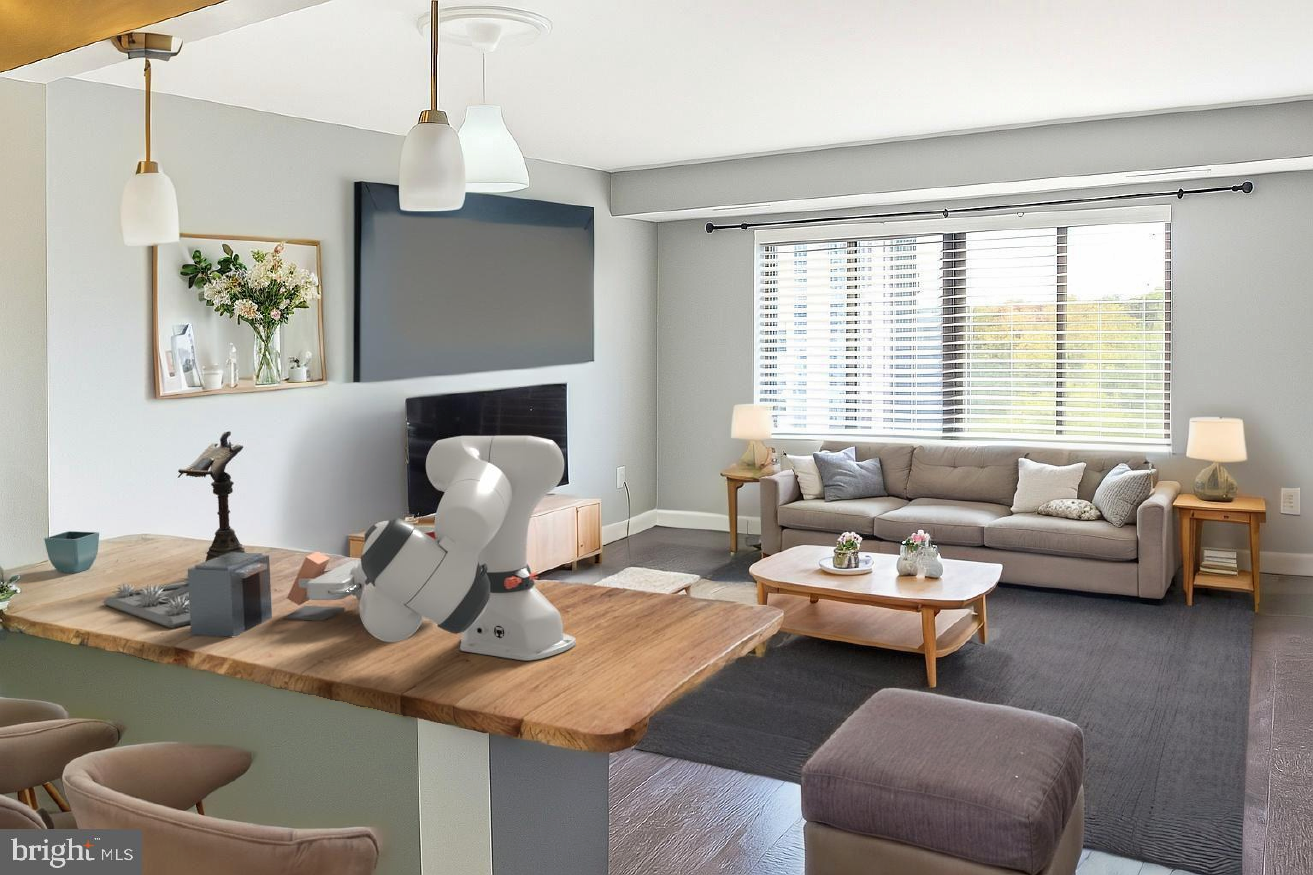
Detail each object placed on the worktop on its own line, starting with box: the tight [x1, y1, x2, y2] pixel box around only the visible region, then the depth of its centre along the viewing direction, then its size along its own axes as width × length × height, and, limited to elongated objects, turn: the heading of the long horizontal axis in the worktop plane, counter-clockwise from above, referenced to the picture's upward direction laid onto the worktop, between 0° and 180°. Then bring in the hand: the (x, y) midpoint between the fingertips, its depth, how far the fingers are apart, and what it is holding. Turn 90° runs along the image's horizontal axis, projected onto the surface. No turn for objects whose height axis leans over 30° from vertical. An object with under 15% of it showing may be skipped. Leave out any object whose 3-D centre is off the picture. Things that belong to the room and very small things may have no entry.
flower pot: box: [43, 530, 100, 574], centre depth 259 cm, size 9×9×9 cm
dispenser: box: [187, 552, 273, 637], centre depth 210 cm, size 10×14×14 cm
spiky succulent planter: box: [102, 578, 191, 629], centre depth 226 cm, size 30×22×7 cm
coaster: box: [282, 605, 345, 622], centre depth 220 cm, size 9×9×1 cm
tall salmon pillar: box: [286, 551, 331, 606], centre depth 219 cm, size 3×5×10 cm, turn 173°
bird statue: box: [177, 431, 246, 562], centre depth 251 cm, size 17×13×35 cm
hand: (308, 578), depth 219 cm, fingers closed on tall salmon pillar, 5 cm apart
